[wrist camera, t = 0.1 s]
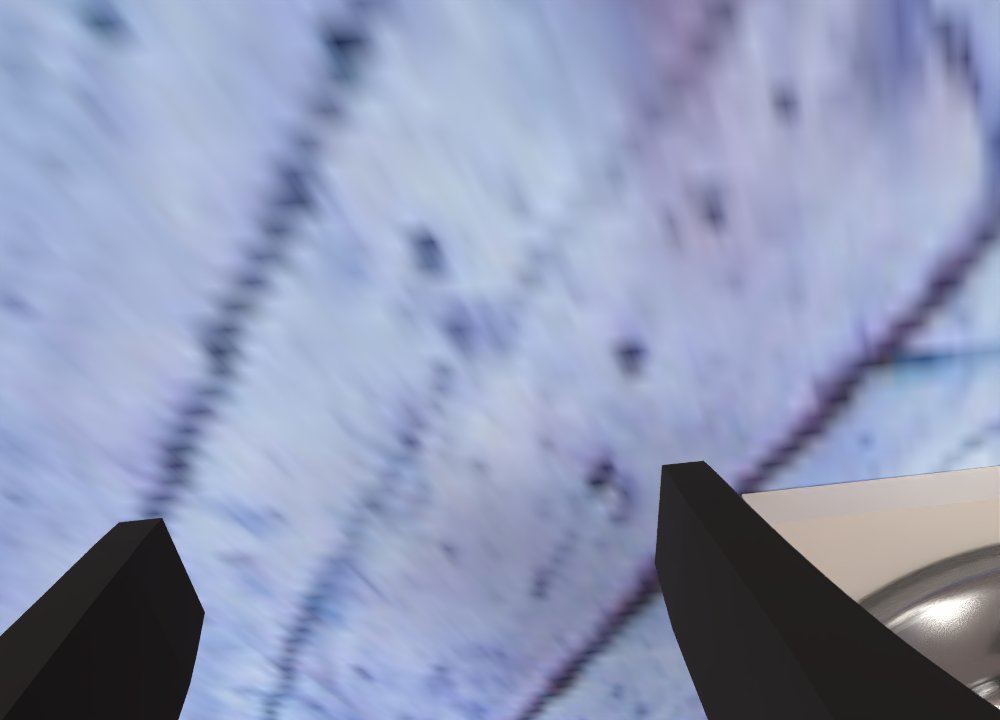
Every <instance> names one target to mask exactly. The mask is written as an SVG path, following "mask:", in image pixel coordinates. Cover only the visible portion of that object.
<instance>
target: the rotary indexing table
mask: <svg viewBox="0 0 1000 720" xmlns="http://www.w3.org/2000/svg"><path fill="white" fill-rule="evenodd" d="M859 605H860V606H862V607H863V608H864V609H865V610H867V611H868V612H869V613H870V614H871V615H873V616H874V617H875V618H876V619H878V620H879V621H880V622H881V623H882V624H884V625H885V626H886V627H887V628H889V629H890V630H891V631H893V632H894V633H895V634H896V635H898V636H899V637H900V638H901V639H903V640H904V641H905V642H907V643H908V644H909V645H910V646H912V647H913V648H914V649H916V650H917V651H918V652H920V653H921V654H922V655H924V656H925V657H926V658H928V659H929V660H931V661H932V662H933V663H935V664H936V665H938V666H939V667H940V668H942V669H943V670H944V671H946V672H947V673H949V674H950V675H951V676H953V677H954V678H956V679H957V680H958V681H960V682H961V683H962V684H964V685H965V686H967V687H968V688H969V689H971V690H972V691H974V692H975V693H976V694H978V695H979V696H981V697H982V698H984V699H985V700H987V701H988V702H990V703H991V704H993V705H994V706H996V707H997V708H999V709H1000V545H997V546H993V547H989V548H985V549H981V550H977V551H973V552H970V553H967V554H964V555H961V556H958V557H955V558H952V559H949V560H945V561H943V562H940V563H938V564H936V565H933V566H931V567H928V568H926V569H923V570H921V571H918V572H916V573H914V574H912V575H910V576H908V577H906V578H904V579H902V580H900V581H898V582H896V583H894V584H892V585H890V586H888V587H886V588H884V589H883V590H881V591H879V592H878V593H876V594H874V595H873V596H871V597H869V598H868V599H866V600H864V601H863V602H861V603H860V604H859Z"/></svg>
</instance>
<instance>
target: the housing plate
mask: <svg viewBox="0 0 1000 720" xmlns="http://www.w3.org/2000/svg"><path fill="white" fill-rule="evenodd" d="M742 498H743V499H744V500H745V501H746V502H747V503H748V504H749V505H750V506H751V507H752V508H753V509H754V510H755V511H756V512H757V513H758V514H759V515H760V516H761V517H762V518H763V519H764V520H765V521H766V522H767V523H768V524H769V525H770V526H771V527H772V528H774V529H775V530H776V531H777V532H778V533H779V534H780V535H781V536H782V537H783V538H784V539H785V540H786V541H787V542H789V543H790V544H791V545H792V546H793V547H794V548H795V549H796V550H797V551H798V552H800V553H801V554H802V555H803V556H804V557H805V558H806V559H807V560H808V561H810V562H811V563H812V564H813V565H814V566H815V567H816V568H817V569H819V570H820V571H821V572H822V573H823V574H824V575H825V576H826V577H827V578H829V579H830V580H831V581H832V582H833V583H834V584H836V585H837V586H838V587H839V588H840V589H841V590H843V591H844V592H845V593H846V594H847V595H848V596H850V597H851V598H852V599H853V600H854V601H856V602H857V603H858V604H860V603H861V602H863V601H864V600H866V599H868V598H869V597H871V596H873V595H874V594H876V593H878V592H879V591H881V590H883V589H884V588H886V587H888V586H890V585H892V584H894V583H896V582H898V581H900V580H902V579H904V578H906V577H908V576H910V575H912V574H914V573H916V572H918V571H921V570H923V569H926V568H928V567H931V566H933V565H936V564H938V563H940V562H943V561H945V560H949V559H952V558H955V557H958V556H961V555H964V554H967V553H970V552H973V551H977V550H981V549H985V548H989V547H993V546H997V545H1000V466H994V467H985V468H975V469H966V470H957V471H948V472H939V473H930V474H921V475H912V476H903V477H894V478H885V479H876V480H867V481H858V482H849V483H840V484H831V485H822V486H813V487H804V488H795V489H786V490H777V491H768V492H759V493H750V494H742Z"/></svg>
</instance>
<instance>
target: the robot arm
mask: <svg viewBox="0 0 1000 720" xmlns="http://www.w3.org/2000/svg"><path fill="white" fill-rule="evenodd" d="M655 565H656V569H657V573H658V577H659V581H660V585H661V588H662V592H663V596H664V600H665V603H666V607H667V611H668V614H669V618H670V621H671V625H672V629H673V631H674V634H675V637H676V639H677V642H678V644H679V647H680V650H681V652H682V655H683V657H684V660H685V662H686V665H687V668H688V670H689V673H690V675H691V678H692V680H693V683H694V686H695V688H696V691H697V693H698V696H699V698H700V701H701V703H702V706H703V708H704V711H705V713H706V716H707V718H708V720H1000V709H999V708H997V707H996V706H994V705H993V704H991V703H990V702H988V701H987V700H985V699H984V698H982V697H981V696H979V695H978V694H976V693H975V692H974V691H972V690H971V689H969V688H968V687H967V686H965V685H964V684H962V683H961V682H960V681H958V680H957V679H956V678H954V677H953V676H951V675H950V674H949V673H947V672H946V671H944V670H943V669H942V668H940V667H939V666H938V665H936V664H935V663H933V662H932V661H931V660H929V659H928V658H926V657H925V656H924V655H922V654H921V653H920V652H918V651H917V650H916V649H914V648H913V647H912V646H910V645H909V644H908V643H907V642H905V641H904V640H903V639H901V638H900V637H899V636H898V635H896V634H895V633H894V632H893V631H891V630H890V629H889V628H887V627H886V626H885V625H884V624H882V623H881V622H880V621H879V620H878V619H876V618H875V617H874V616H873V615H871V614H870V613H869V612H868V611H867V610H865V609H864V608H863V607H862V606H860V605H859V604H858V603H857V602H856V601H854V600H853V599H852V598H851V597H850V596H848V595H847V594H846V593H845V592H844V591H843V590H841V589H840V588H839V587H838V586H837V585H836V584H834V583H833V582H832V581H831V580H830V579H829V578H827V577H826V576H825V575H824V574H823V573H822V572H821V571H820V570H819V569H817V568H816V567H815V566H814V565H813V564H812V563H811V562H810V561H808V560H807V559H806V558H805V557H804V556H803V555H802V554H801V553H800V552H798V551H797V550H796V549H795V548H794V547H793V546H792V545H791V544H790V543H789V542H787V541H786V540H785V539H784V538H783V537H782V536H781V535H780V534H779V533H778V532H777V531H776V530H775V529H774V528H772V527H771V526H770V525H769V524H768V523H767V522H766V521H765V520H764V519H763V518H762V517H761V516H760V515H759V514H758V513H757V512H756V511H755V510H754V509H753V508H752V507H751V506H750V505H749V504H748V503H747V502H746V501H745V500H744V499H743V498H741V497H740V496H739V495H738V494H737V493H736V492H735V491H734V490H733V489H732V488H731V487H730V486H729V485H728V484H727V483H726V482H725V481H724V480H723V479H722V478H721V477H720V476H719V475H718V474H717V473H716V472H715V471H714V470H713V469H712V468H711V467H710V466H709V465H708V464H707V463H705V462H704V461H698V462H688V463H679V464H669V465H662V474H661V487H660V501H659V515H658V528H657V542H656V556H655ZM204 614H205V612H204V610H203V607H202V605H201V603H200V601H199V599H198V596H197V594H196V592H195V590H194V587H193V585H192V583H191V581H190V579H189V576H188V574H187V572H186V570H185V568H184V565H183V563H182V561H181V559H180V556H179V554H178V552H177V550H176V548H175V545H174V543H173V541H172V539H171V537H170V534H169V532H168V530H167V528H166V525H165V523H164V521H163V519H162V518H157V519H147V520H138V521H128V522H119V523H118V524H117V525H116V526H115V527H113V528H112V529H111V530H110V531H109V532H108V533H107V534H106V535H105V536H104V537H102V538H101V539H100V540H99V541H98V542H97V543H96V544H95V545H94V546H93V547H92V548H91V549H90V550H89V551H88V552H87V553H86V554H85V555H84V556H83V557H82V558H81V559H79V560H78V561H77V562H76V563H75V564H74V565H73V566H72V567H71V568H70V569H69V570H68V571H67V572H66V573H65V574H64V575H63V576H62V577H61V578H60V579H59V580H58V581H57V582H56V583H55V584H54V585H53V586H52V587H51V588H50V589H49V590H48V591H47V592H46V593H45V594H44V595H43V596H42V597H41V598H40V599H39V600H38V601H36V602H35V603H34V604H33V605H32V606H31V607H30V608H29V609H28V610H27V611H26V612H25V613H24V614H23V615H22V616H21V617H20V618H19V619H18V620H17V621H16V622H15V623H14V624H13V625H12V626H10V627H9V628H8V629H7V630H6V631H5V632H4V633H3V634H2V635H1V636H0V720H178V719H179V716H180V713H181V710H182V707H183V704H184V701H185V698H186V695H187V692H188V689H189V686H190V682H191V678H192V673H193V669H194V664H195V660H196V655H197V651H198V646H199V640H200V635H201V630H202V625H203V619H204Z"/></svg>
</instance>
